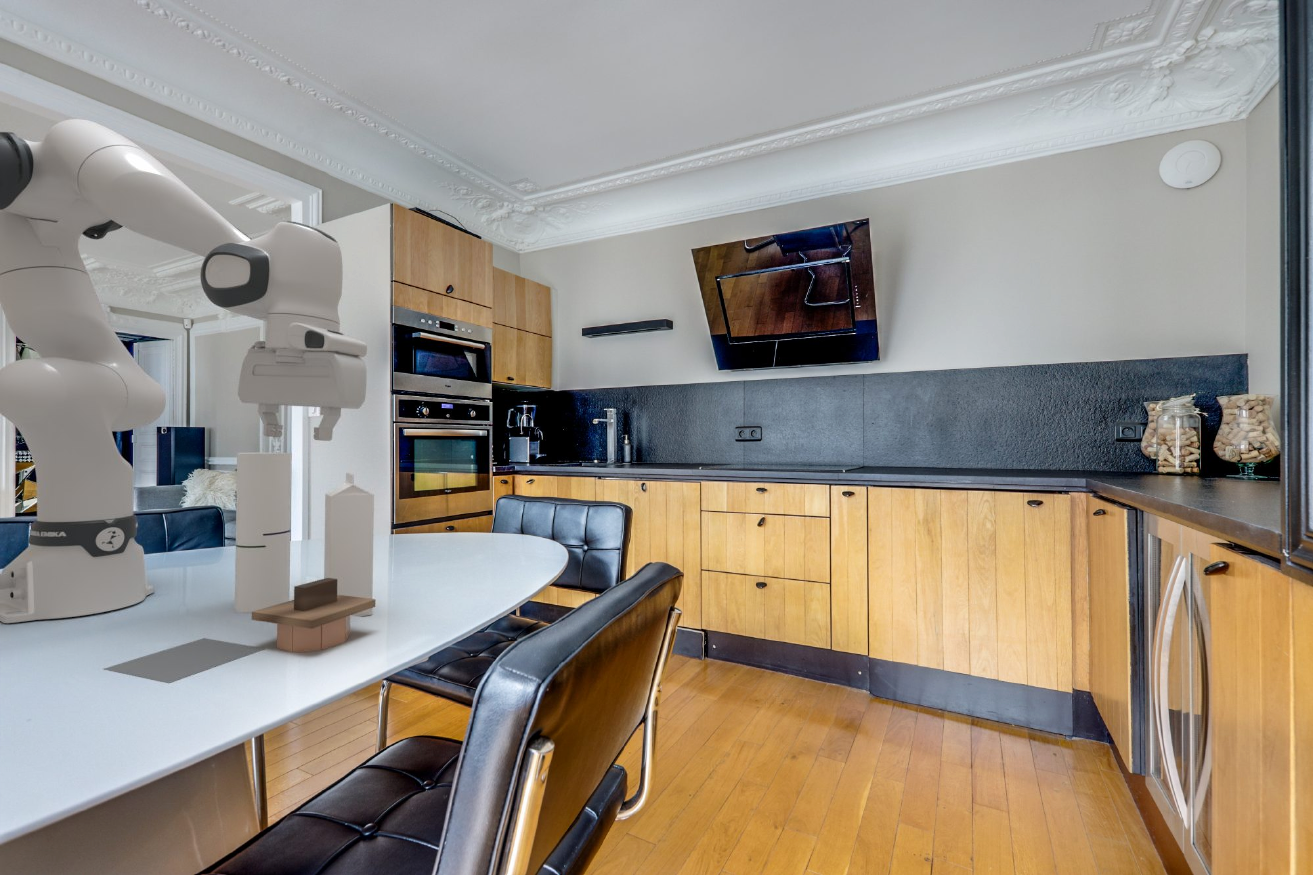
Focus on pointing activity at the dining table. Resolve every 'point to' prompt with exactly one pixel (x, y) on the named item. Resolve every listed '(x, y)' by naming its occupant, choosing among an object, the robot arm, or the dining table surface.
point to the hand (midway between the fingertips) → (297, 438)
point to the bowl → (313, 636)
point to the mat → (184, 660)
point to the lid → (314, 606)
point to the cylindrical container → (262, 530)
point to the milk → (350, 540)
